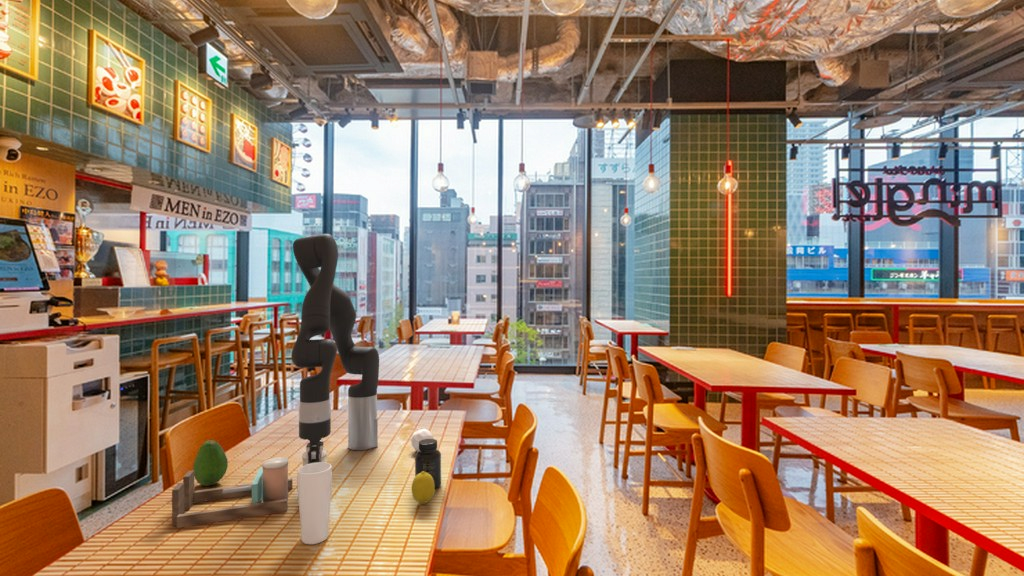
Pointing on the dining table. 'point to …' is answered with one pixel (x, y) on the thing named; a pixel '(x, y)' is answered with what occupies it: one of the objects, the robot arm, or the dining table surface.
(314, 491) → the drinking glass
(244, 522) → the dining table surface
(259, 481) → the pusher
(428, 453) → the supplement bottle
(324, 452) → the sage jar
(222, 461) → the fruit
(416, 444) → the ornament
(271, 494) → the jar
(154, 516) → the dining table surface
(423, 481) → the lemon
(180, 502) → the lane
